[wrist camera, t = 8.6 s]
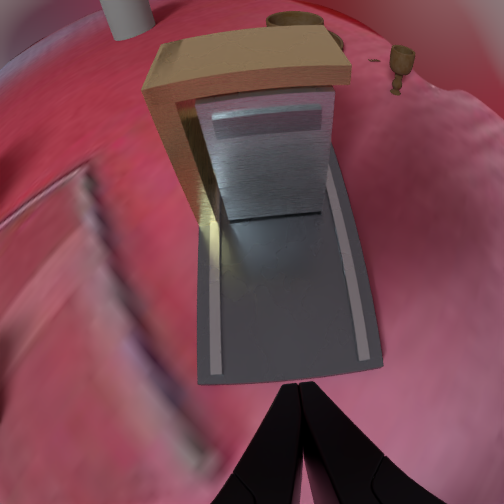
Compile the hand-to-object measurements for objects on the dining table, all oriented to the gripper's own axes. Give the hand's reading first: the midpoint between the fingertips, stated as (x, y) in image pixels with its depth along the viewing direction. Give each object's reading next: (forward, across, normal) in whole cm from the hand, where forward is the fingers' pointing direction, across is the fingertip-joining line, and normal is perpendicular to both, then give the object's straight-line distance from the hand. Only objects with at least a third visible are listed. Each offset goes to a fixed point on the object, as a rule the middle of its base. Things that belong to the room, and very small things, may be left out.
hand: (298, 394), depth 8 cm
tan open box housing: (+17, 0, -4) cm, 17 cm away
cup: (+48, +21, -36) cm, 64 cm away
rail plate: (+13, 0, -1) cm, 13 cm away
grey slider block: (+14, 0, -3) cm, 14 cm away
